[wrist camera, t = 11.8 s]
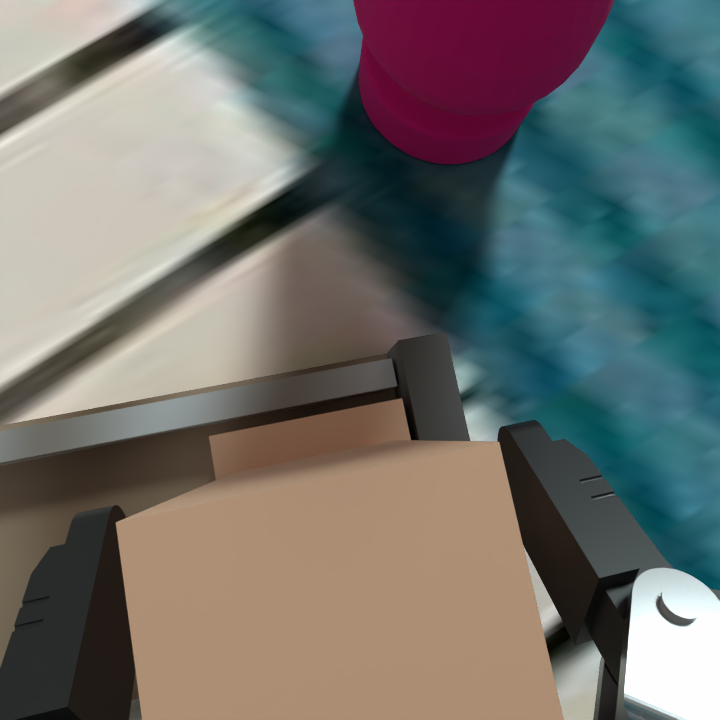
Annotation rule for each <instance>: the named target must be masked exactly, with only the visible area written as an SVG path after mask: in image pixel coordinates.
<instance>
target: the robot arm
mask: <svg viewBox="0 0 720 720" xmlns="http://www.w3.org/2000/svg"><path fill="white" fill-rule="evenodd" d="M497 442H499V443H500V448H501V452H502V456H503V461H504V465H505V469H506V473H507V478H508V482H509V486H510V491H511V495H512V499H513V504H514V508H515V512H516V517H517V521H518V525H519V530H520V534H521V538H522V542H523V545H524V547H525V549H526V551H527V553H528V555H529V557H530V559H531V561H532V563H533V565H534V566H535V568H536V570H537V572H538V574H539V576H540V578H541V580H542V582H543V584H544V586H545V588H546V590H547V592H548V594H549V595H550V597H551V599H552V601H553V603H554V605H555V607H556V609H557V611H558V613H559V615H560V617H561V619H562V621H563V623H564V625H565V626H566V628H567V630H568V632H569V634H570V636H571V638H572V640H573V642H574V644H575V645H576V644H580V643H584V642H588V641H591V640H593V641H594V643H595V644H596V646H597V648H598V650H599V652H600V654H601V655H602V657H601V661H600V668H599V676H598V685H597V694H596V702H595V711H594V719H593V720H720V591H718V590H714V589H710V588H708V587H707V586H705V585H704V584H703V583H702V582H700V581H699V580H697V579H696V578H694V577H692V576H690V575H689V574H687V573H684V572H681V571H679V570H675V569H674V568H673V567H672V566H671V565H670V564H669V563H668V562H667V561H666V560H665V559H664V558H663V556H662V555H661V554H660V552H659V551H658V550H657V548H656V547H655V546H654V544H653V543H652V542H651V540H650V539H649V538H648V536H647V535H646V534H645V532H644V531H643V530H642V528H641V527H640V526H639V524H638V523H637V521H636V520H635V519H634V517H633V516H632V515H631V513H630V512H629V511H628V509H627V508H626V507H625V505H624V504H623V503H622V501H621V500H620V499H619V497H618V496H615V494H614V491H613V489H612V488H611V487H610V485H609V484H608V483H607V481H606V480H605V479H603V478H602V474H601V473H600V472H599V470H598V469H597V468H596V466H595V465H594V464H593V462H592V461H591V460H590V458H589V457H588V456H587V454H585V453H584V452H582V451H581V450H579V449H578V448H577V447H575V446H574V445H572V444H571V443H570V442H568V441H567V440H565V439H562V440H558V441H552V440H551V439H550V437H549V436H548V434H547V433H546V431H545V430H544V428H543V427H542V426H541V424H540V423H539V422H537V421H536V420H531V421H526V422H522V423H517V424H512V425H507V426H502V427H501V428H500V429H499V433H498V441H497ZM125 518H127V517H126V516H125V514H124V512H123V510H122V509H121V508H120V507H119V506H118V505H114V506H109V507H104V508H100V509H95V510H90V511H85V512H80V513H77V514H76V515H75V516H74V517H73V519H72V521H71V524H70V528H69V531H68V535H67V538H66V542H65V544H62V545H57V546H53V547H50V548H49V549H48V551H47V552H46V554H45V555H44V556H43V558H42V559H41V561H40V562H39V563H38V565H37V566H36V568H35V569H34V570H33V572H32V573H31V575H30V579H29V582H28V585H27V588H26V591H25V594H24V597H23V600H22V608H20V609H19V612H18V615H17V618H16V621H15V624H14V626H15V630H14V632H12V634H11V637H10V640H9V643H8V646H7V649H6V652H5V655H4V658H3V661H2V664H1V667H0V720H129V716H130V708H131V700H132V693H133V685H134V678H135V662H134V655H133V648H132V640H131V633H130V625H129V618H128V610H127V603H126V595H125V588H124V580H123V573H122V566H121V558H120V551H119V543H118V536H117V528H116V522H118V521H120V520H123V519H125Z"/></svg>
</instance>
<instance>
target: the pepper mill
mask: <svg viewBox="0 0 720 720" xmlns="http://www.w3.org/2000/svg"><path fill="white" fill-rule="evenodd" d="M353 1H354V6H355V11H356V15H357V20H358V24H359V26H360V29H361V31H362V34H363V40H362V48H361V56H360V65H359V76H358V81H359V90H360V94H361V99H362V103H363V106H364V108H365V110H366V112H367V114H368V116H369V118H370V120H371V122H372V123H373V125H374V126H375V127H376V129H377V130H378V131H379V132H380V133H381V134H382V135H383V136H384V137H385V138H386V139H387V140H388V141H389V142H390V143H391V144H393V145H394V146H396V147H397V148H399V149H400V150H402V151H403V152H405V153H407V154H408V155H410V156H413V157H415V158H418V159H421V160H424V161H428V162H432V163H437V164H461V163H467V162H472V161H475V160H478V159H481V158H484V157H486V156H488V155H490V154H492V153H493V152H495V151H497V150H498V149H500V148H501V147H502V146H503V145H504V144H505V143H506V142H508V141H509V139H510V138H511V137H512V136H513V135H514V134H515V132H516V131H517V129H518V128H519V126H520V125H521V123H522V122H523V120H524V119H525V117H526V116H527V114H528V113H529V111H530V110H531V108H532V106H533V105H534V103H535V102H536V101H538V100H539V99H541V98H543V97H545V96H547V95H548V94H550V93H551V92H552V91H554V90H555V89H556V88H557V87H559V86H560V85H561V84H563V83H564V82H565V81H566V80H567V79H568V77H569V76H570V75H571V74H572V73H573V72H574V71H575V70H576V69H577V68H578V67H579V65H580V64H581V62H582V61H583V59H584V58H585V56H586V55H587V53H588V52H589V50H590V48H591V46H592V44H593V43H594V41H595V39H596V37H597V36H598V34H599V32H600V30H601V29H602V27H603V25H604V23H605V21H606V19H607V17H608V15H609V12H610V10H611V8H612V5H613V2H614V0H353Z"/></svg>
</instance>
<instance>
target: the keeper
mask: <svg viewBox="0 0 720 720" xmlns="http://www.w3.org/2000/svg"><path fill="white" fill-rule="evenodd" d="M209 440H210V446H211V453H212V459H213V465H214V471H215V478H216V480H215V481H213V482H211V483H208V484H206V485H203V486H201V487H199V488H196V489H194V490H192V491H189V492H187V493H184V494H182V495H180V496H177V497H175V498H173V499H170V500H168V501H165V502H163V503H161V504H158V505H156V506H153V507H151V508H149V509H146V510H144V511H142V512H139V513H137V514H134V515H132V516H130V517H127V518H125V519H123V520H120V521H118V522H116V528H117V536H118V543H119V551H120V558H121V566H122V573H123V580H124V588H125V595H126V603H127V610H128V618H129V625H130V633H131V640H132V648H133V655H134V662H135V670H136V677H137V685H138V692H139V700H140V707H141V715H142V720H564V719H563V715H562V711H561V706H560V702H559V698H558V693H557V689H556V685H555V681H554V676H553V672H552V668H551V663H550V659H549V655H548V650H547V646H546V642H545V637H544V633H543V629H542V624H541V620H540V616H539V612H538V607H537V603H536V599H535V594H534V590H533V586H532V581H531V577H530V573H529V568H528V564H527V560H526V555H525V551H524V547H523V542H522V538H521V534H520V530H519V525H518V521H517V517H516V512H515V508H514V504H513V499H512V495H511V491H510V486H509V482H508V478H507V473H506V469H505V465H504V461H503V456H502V452H501V448H500V443H499V442H487V441H421V440H411V438H410V433H409V428H408V424H407V419H406V414H405V409H404V405H403V400H402V398H401V399H396V400H391V401H386V402H380V403H375V404H370V405H365V406H360V407H355V408H350V409H345V410H340V411H335V412H330V413H324V414H319V415H314V416H309V417H304V418H299V419H294V420H289V421H284V422H279V423H274V424H268V425H263V426H258V427H253V428H248V429H243V430H238V431H233V432H228V433H223V434H218V435H212V436H209Z"/></svg>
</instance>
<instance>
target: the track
mask: <svg viewBox="0 0 720 720" xmlns="http://www.w3.org/2000/svg"><path fill="white" fill-rule="evenodd" d="M401 398H402V400H403V405H404V409H405V414H406V419H407V424H408V428H409V433H410V438H411V440H421V441H470V438H469V433H468V429H467V425H466V420H465V416H464V411H463V407H462V402H461V398H460V393H459V389H458V385H457V380H456V376H455V371H454V367H453V362H452V358H451V353H450V349H449V344H448V340H447V336H446V332H443V333H437V334H432V335H426V336H421V337H415V338H410V339H404V340H399V341H398V342H397V343H396V344H395V345H394V346H393V347H392V349H391V350H390V351H389V352H388V353H387V354H384V355H379V356H373V357H368V358H362V359H357V360H352V361H346V362H341V363H335V364H330V365H325V366H319V367H314V368H309V369H303V370H298V371H292V372H287V373H282V374H276V375H271V376H266V377H260V378H255V379H249V380H244V381H239V382H233V383H228V384H223V385H217V386H212V387H206V388H201V389H196V390H190V391H185V392H179V393H174V394H169V395H163V396H158V397H153V398H147V399H142V400H136V401H131V402H126V403H120V404H115V405H110V406H104V407H99V408H93V409H88V410H83V411H77V412H72V413H67V414H61V415H56V416H50V417H45V418H40V419H34V420H29V421H24V422H18V423H13V424H7V425H2V426H0V667H1V664H2V661H3V658H4V655H5V652H6V649H7V646H8V643H9V640H10V637H11V634H12V632H14V630H15V626H14V624H15V621H16V618H17V615H18V612H19V609H20V608H22V600H23V597H24V594H25V591H26V588H27V585H28V582H29V579H30V575H31V573H32V572H33V570H34V569H35V568H36V566H37V565H38V563H39V562H40V561H41V559H42V558H43V556H44V555H45V554H46V552H47V551H48V549H49V548H50V547H53V546H57V545H62V544H65V542H66V538H67V535H68V531H69V528H70V524H71V521H72V519H73V517H74V516H75V515H76V514H77V513H80V512H85V511H90V510H95V509H100V508H104V507H109V506H114V505H118V506H119V507H120V508H121V509H122V510H123V512H124V514H125V516H126V517H130V516H132V515H134V514H137V513H139V512H142V511H144V510H146V509H149V508H151V507H153V506H156V505H158V504H161V503H163V502H165V501H168V500H170V499H173V498H175V497H177V496H180V495H182V494H184V493H187V492H189V491H192V490H194V489H196V488H199V487H201V486H203V485H206V484H208V483H211V482H213V481H215V480H216V478H215V471H214V465H213V459H212V453H211V446H210V440H209V436H212V435H218V434H223V433H228V432H233V431H238V430H243V429H248V428H253V427H258V426H263V425H268V424H274V423H279V422H284V421H289V420H294V419H299V418H304V417H309V416H314V415H319V414H324V413H330V412H335V411H340V410H345V409H350V408H355V407H360V406H365V405H370V404H375V403H380V402H386V401H391V400H396V399H401ZM129 720H142V715H141V707H140V700H139V692H138V685H137V677H136V670H135V678H134V685H133V693H132V700H131V708H130V716H129Z"/></svg>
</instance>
